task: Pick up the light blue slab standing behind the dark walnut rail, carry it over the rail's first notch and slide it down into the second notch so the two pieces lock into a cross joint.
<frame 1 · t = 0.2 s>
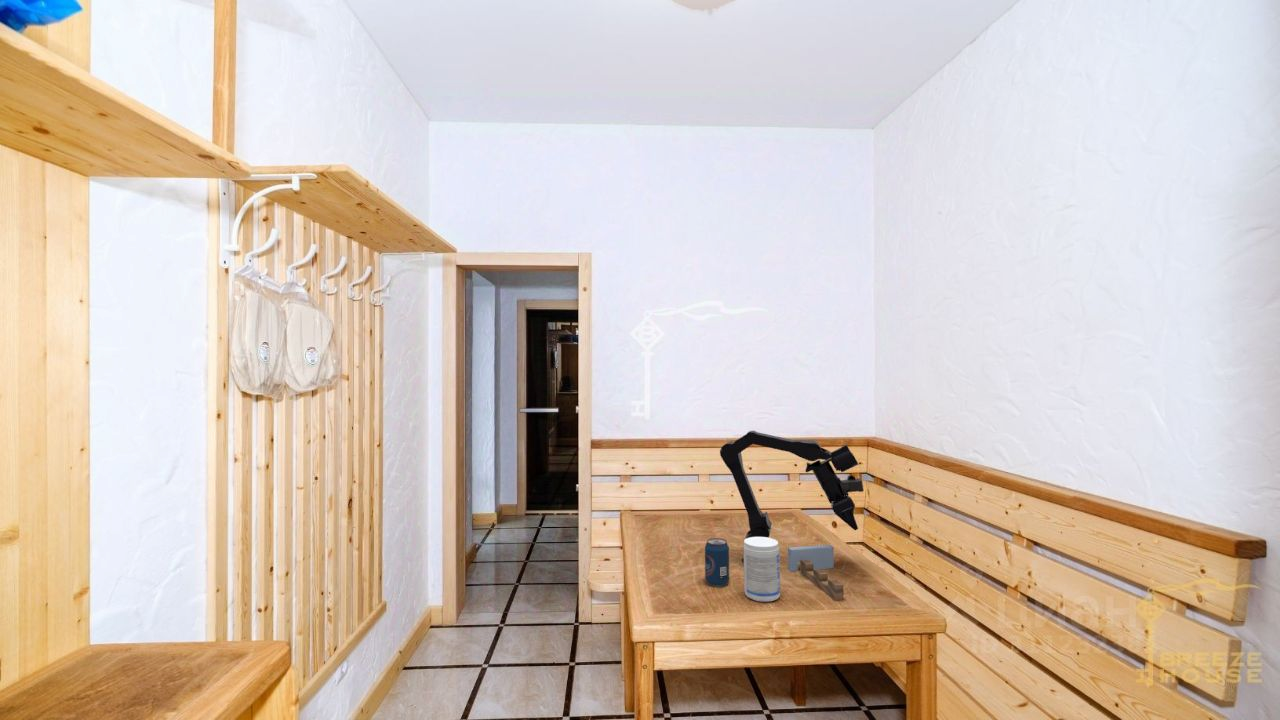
hand: (854, 525, 164), 14 cm above the table, tool tilted 30°, fingers open, 9 cm apart
light blue slab: (810, 568, 168), on the table
supplement tub: (762, 596, 148), on the table
soda can: (717, 583, 157), on the table
notched rail: (820, 585, 154), on the table
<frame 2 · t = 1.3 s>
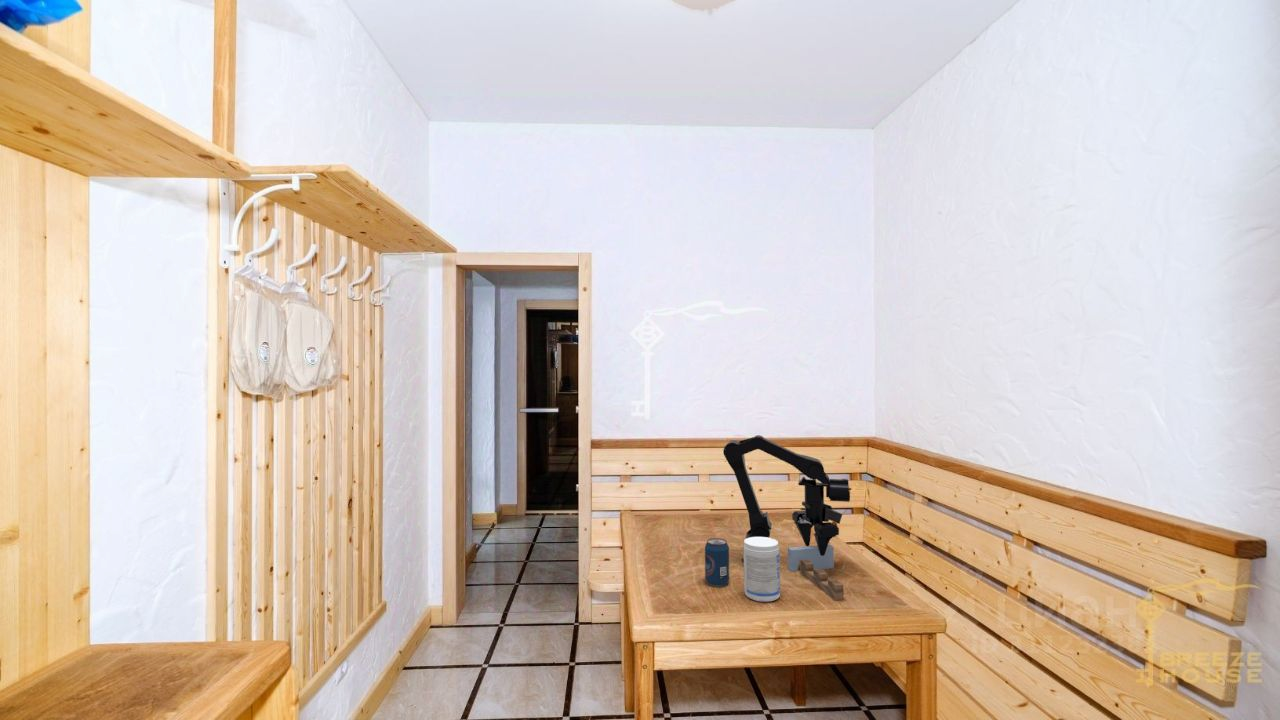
hand: (814, 550, 168), 5 cm above the table, tool pointing down, fingers open, 9 cm apart
nothing on the table moved.
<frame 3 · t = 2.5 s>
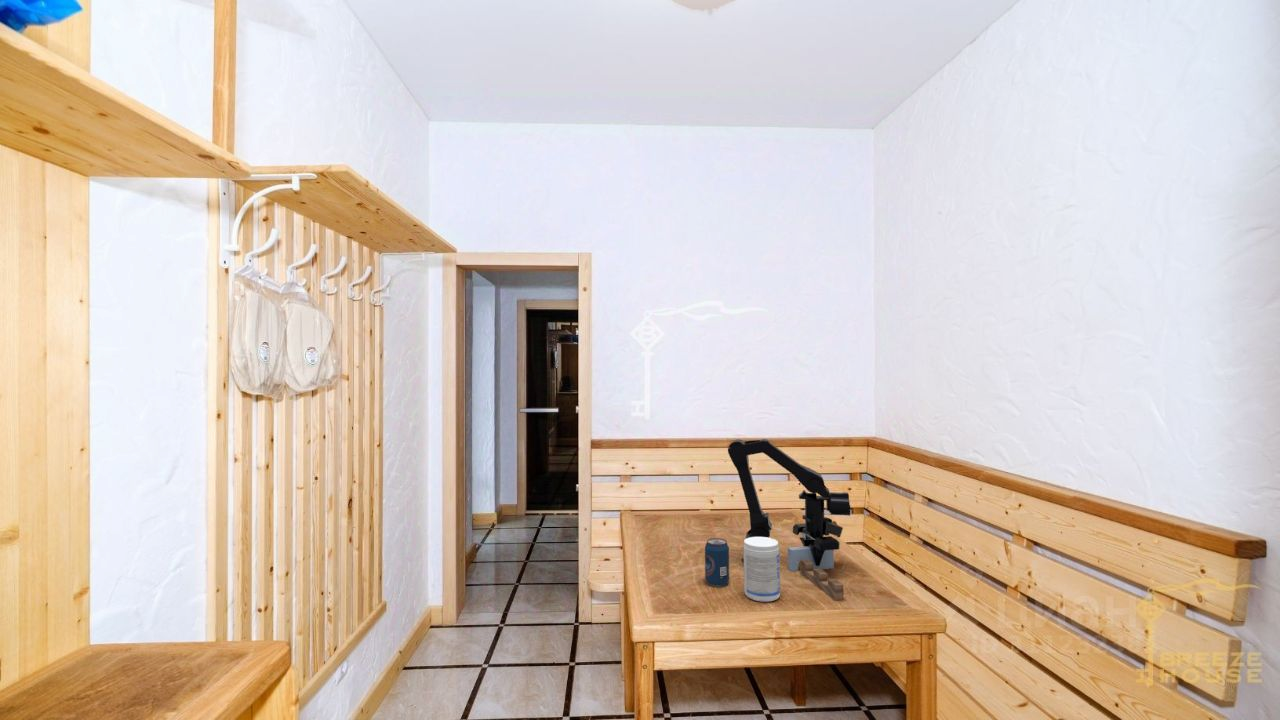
hand: (815, 564, 168), 1 cm above the table, tool pointing down, fingers closed on light blue slab, 2 cm apart
light blue slab: (811, 568, 168), on the table, touching gripper
everything else where it was.
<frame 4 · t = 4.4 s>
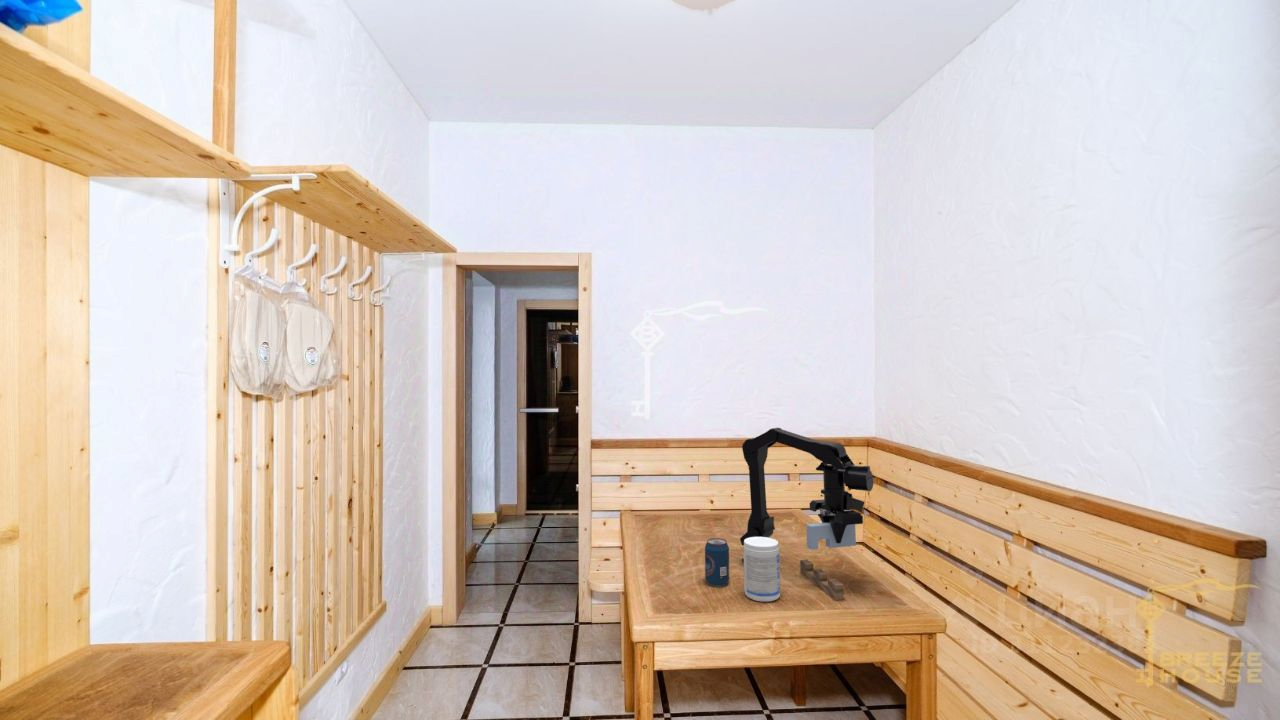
hand: (835, 541, 156), 12 cm above the table, tool pointing down, fingers closed on light blue slab, 2 cm apart
light blue slab: (831, 546, 156), point 11 cm above the table, touching gripper
everything else where it was.
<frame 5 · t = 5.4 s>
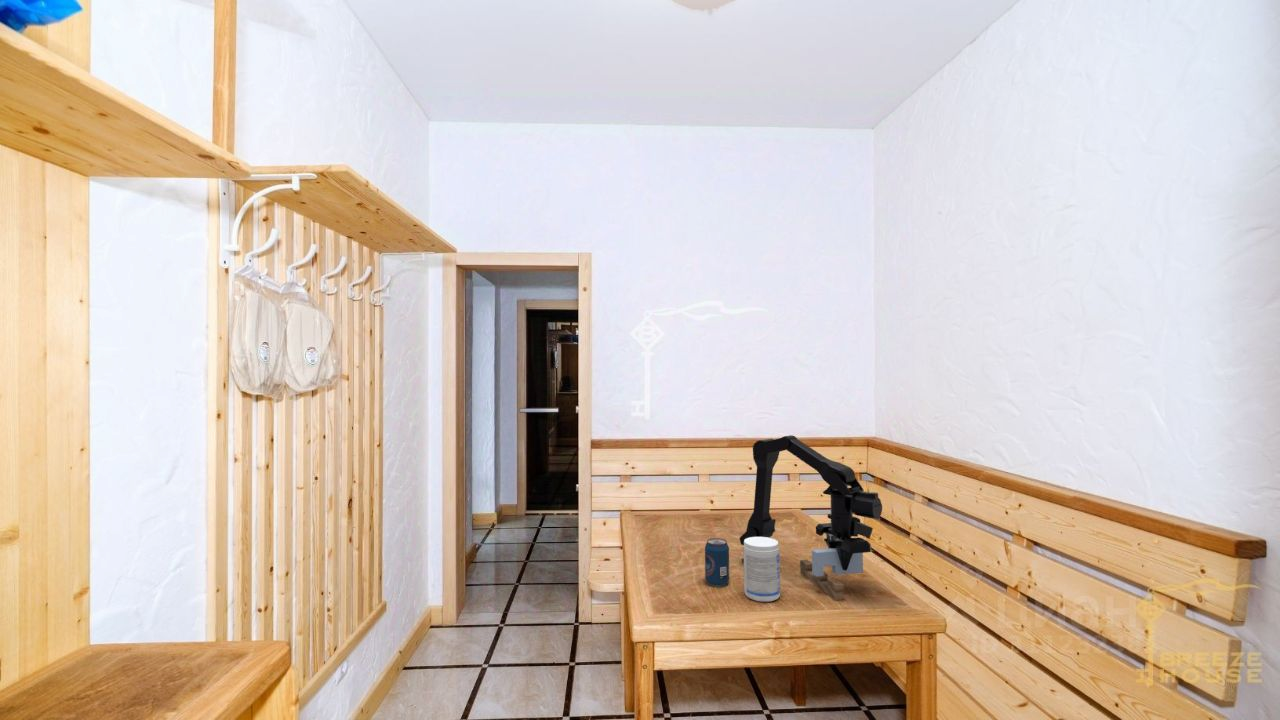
hand: (842, 568, 151), 6 cm above the table, tool pointing down, fingers closed on light blue slab, 2 cm apart
light blue slab: (837, 573, 151), point 5 cm above the table, touching gripper
everything else where it was.
when the fingers open (2 cm above the table, at t = 6.4 s): light blue slab drops 1 cm, on the table.
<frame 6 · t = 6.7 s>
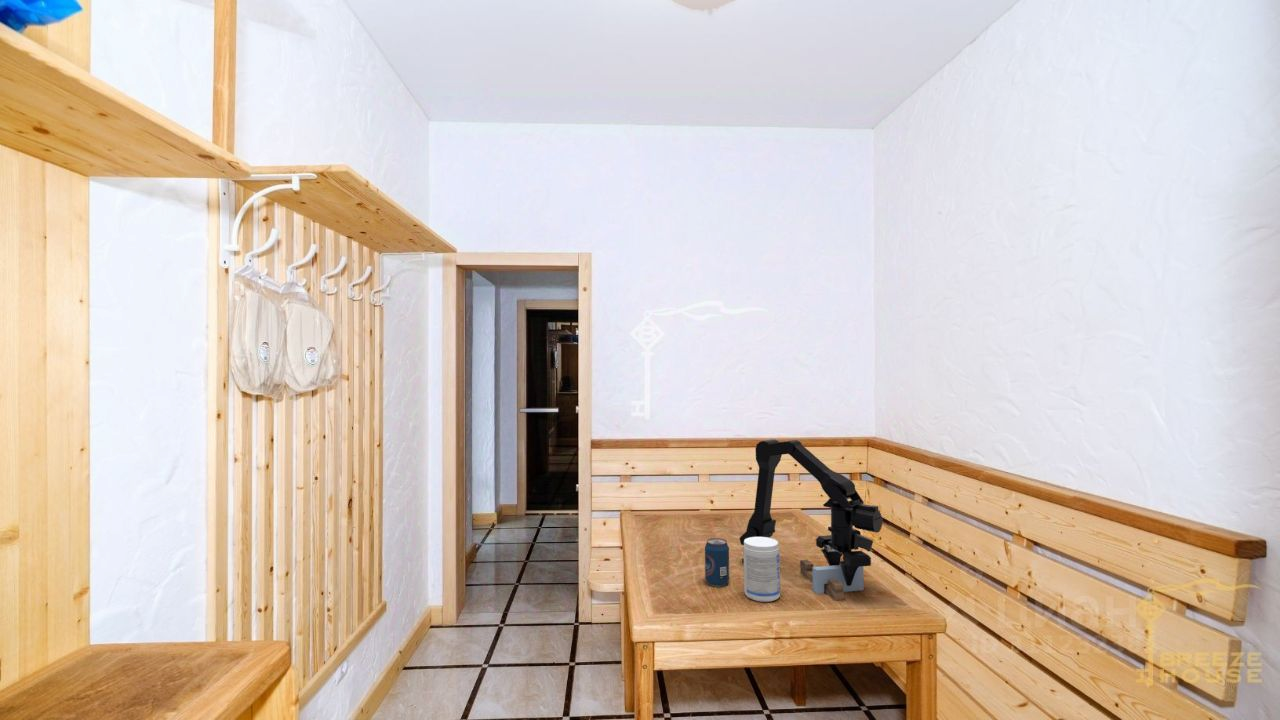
hand: (842, 581, 151), 2 cm above the table, tool pointing down, fingers open, 6 cm apart
light blue slab: (838, 590, 151), on the table
everything else where it was.
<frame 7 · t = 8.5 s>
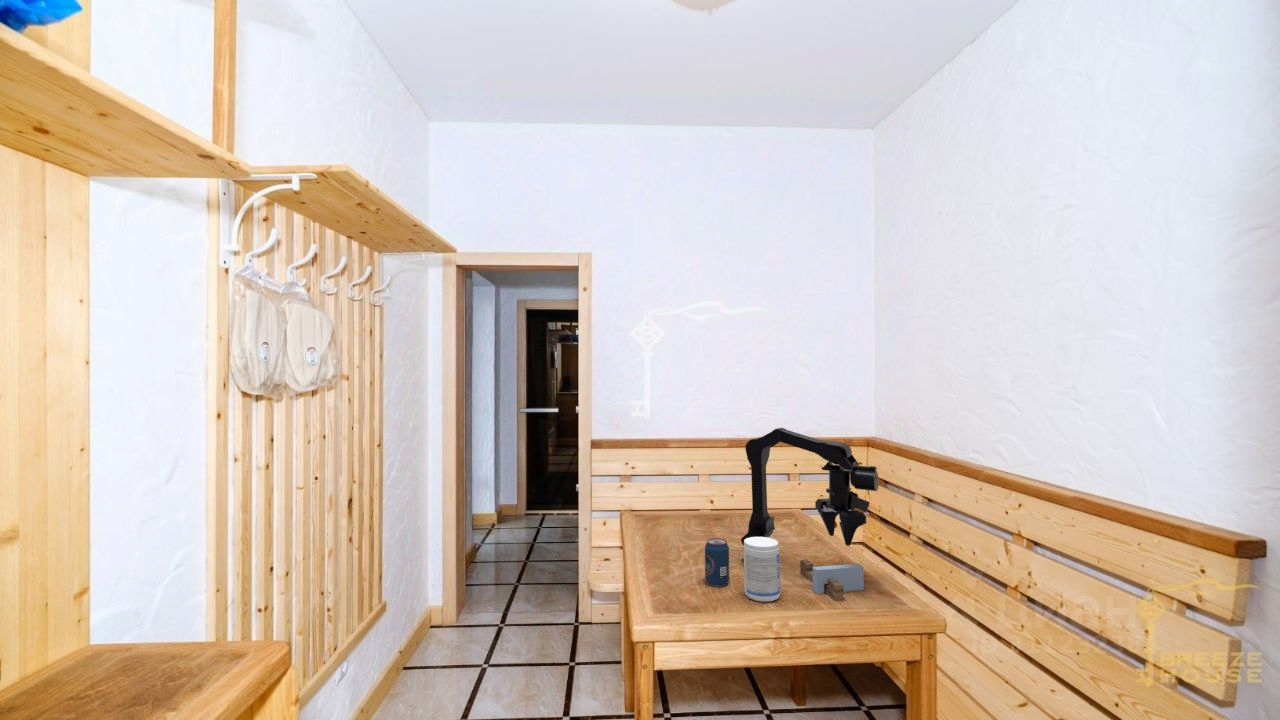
hand: (839, 540, 158), 12 cm above the table, tool pointing down, fingers open, 9 cm apart
nothing on the table moved.
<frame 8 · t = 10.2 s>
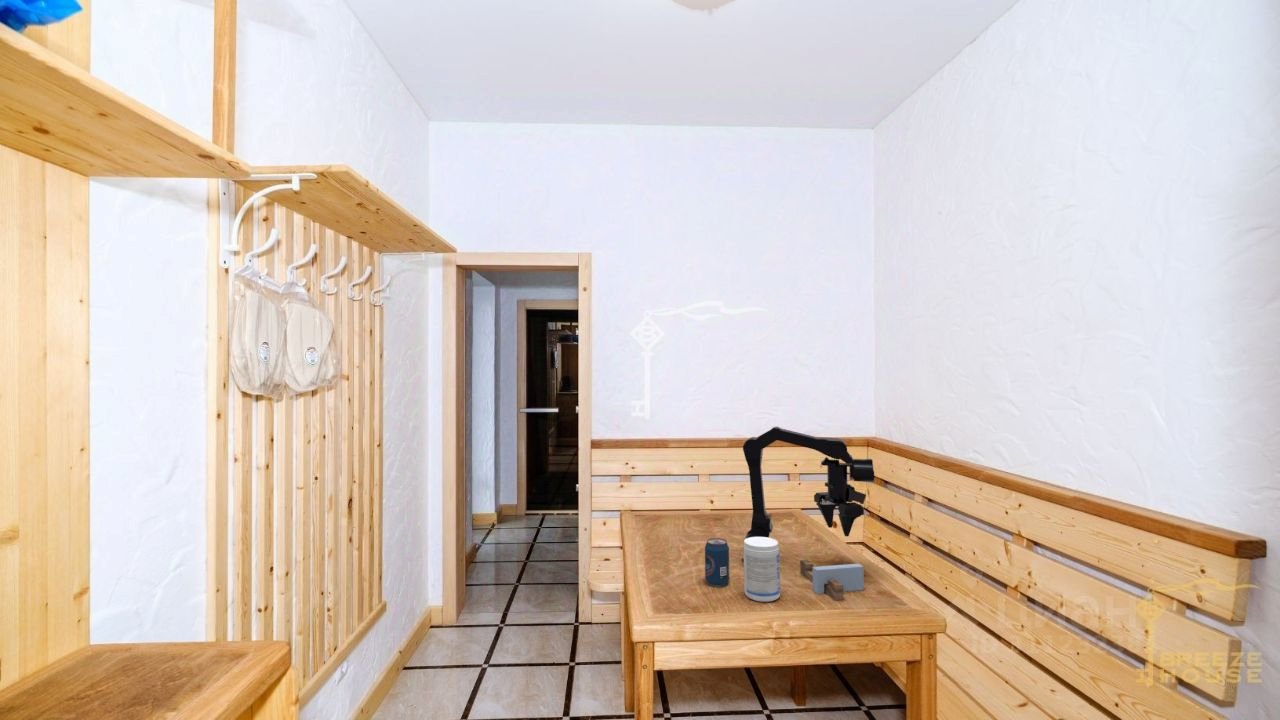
hand: (838, 531, 165), 12 cm above the table, tool pointing down, fingers open, 9 cm apart
nothing on the table moved.
at the end: light blue slab 0.1 cm from the target spot, on the table; light blue slab tilted 0°; the gripper is holding nothing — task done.
